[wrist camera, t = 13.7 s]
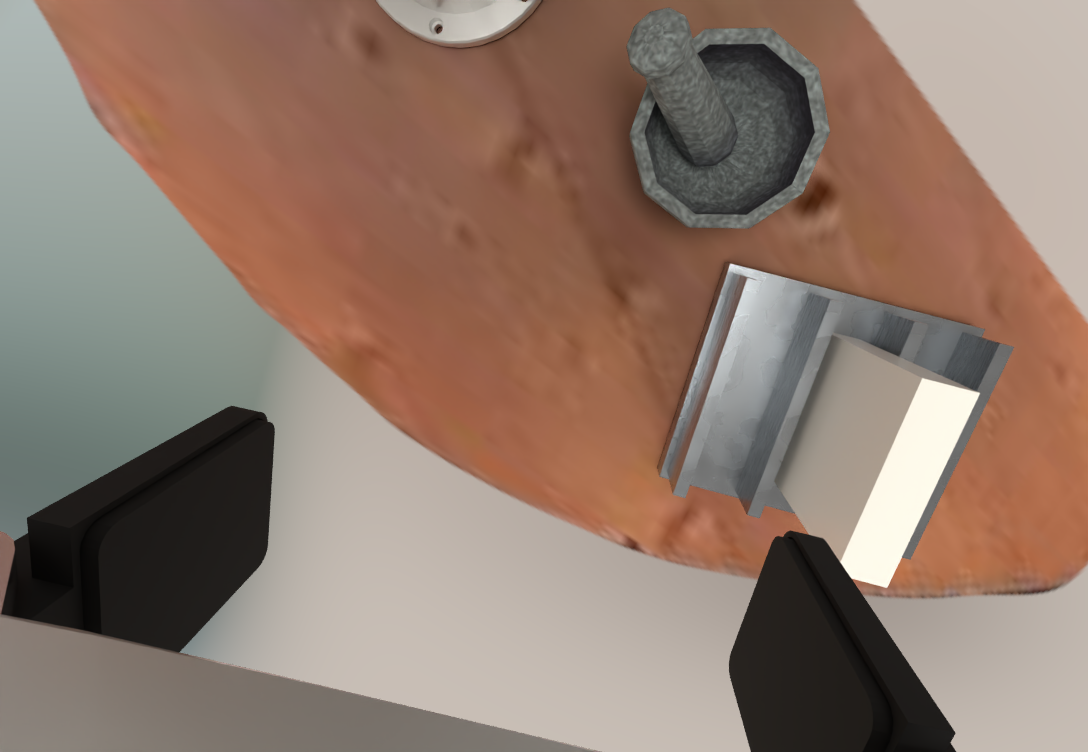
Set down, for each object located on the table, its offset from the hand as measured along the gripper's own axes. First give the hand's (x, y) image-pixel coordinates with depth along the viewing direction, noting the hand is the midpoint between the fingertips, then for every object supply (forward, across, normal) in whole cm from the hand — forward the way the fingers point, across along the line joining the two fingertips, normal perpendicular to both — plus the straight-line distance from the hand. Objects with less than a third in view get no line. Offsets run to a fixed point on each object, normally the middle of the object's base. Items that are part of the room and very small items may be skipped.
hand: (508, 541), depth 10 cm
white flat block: (+28, -17, +4) cm, 32 cm away
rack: (+29, -17, +4) cm, 34 cm away
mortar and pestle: (+30, -6, -11) cm, 32 cm away
